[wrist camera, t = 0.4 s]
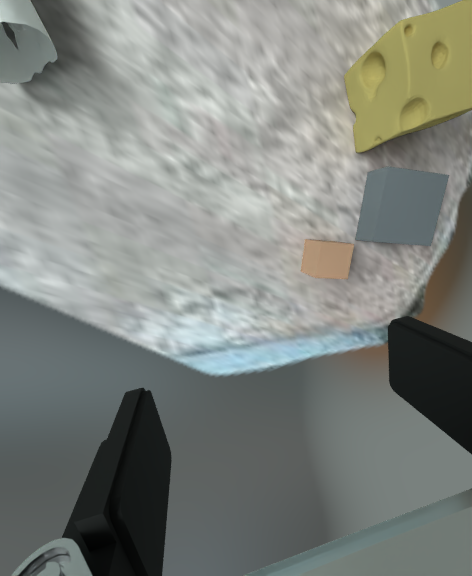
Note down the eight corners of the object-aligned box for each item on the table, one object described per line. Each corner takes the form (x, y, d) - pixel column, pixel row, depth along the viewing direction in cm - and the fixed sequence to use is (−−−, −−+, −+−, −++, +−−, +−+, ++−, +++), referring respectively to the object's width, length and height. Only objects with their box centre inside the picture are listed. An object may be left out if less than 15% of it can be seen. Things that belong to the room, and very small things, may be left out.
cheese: (354, 155, 37) (412, 132, 27) (339, 71, 34) (398, 10, 24) (416, 133, 37) (494, 102, 28) (407, 48, 34) (491, -19, 25)
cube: (305, 239, 39) (321, 241, 34) (334, 241, 40) (354, 244, 35) (300, 271, 40) (315, 277, 35) (329, 272, 41) (347, 279, 36)
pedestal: (368, 172, 38) (388, 166, 34) (424, 179, 39) (449, 175, 36) (355, 239, 40) (372, 241, 36) (408, 243, 42) (430, 245, 38)
